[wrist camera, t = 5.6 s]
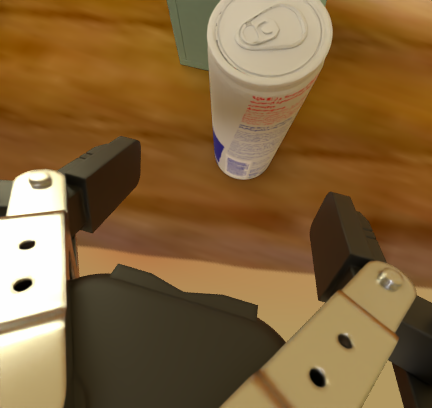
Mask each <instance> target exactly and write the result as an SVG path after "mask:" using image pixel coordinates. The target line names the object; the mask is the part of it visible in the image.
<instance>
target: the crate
mask: <svg viewBox="0 0 432 408" xmlns="http://www.w3.org/2000/svg"><path fill="white" fill-rule="evenodd" d="M220 1H221V0H167V4H168V8H169V13H170V18H171V22H172V27H173V31H174V36H175V41H176V45H177V50H178V54H179V58H180V64H182V65H187V66H191V67H195V68H199V69H203V70H208V71H209V65H208V42H207V28H208V22H209V19H210V16H211V14H212V12H213V10H214V9H215V7H216V6H217V4H218V3H219V2H220ZM320 1H321V2H322V4H323V5H324V7H325V5H326V1H327V0H320Z"/></svg>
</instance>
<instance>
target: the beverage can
mask: <svg viewBox="0 0 432 408" xmlns="http://www.w3.org/2000/svg"><path fill="white" fill-rule="evenodd" d="M332 34H333V29H332V23H331V19H330V16H329V13H328V11H327V9H326V8H325V7H324V5H323V4H322V2H321V1H320V0H221V1H220V2H219V3H218V4H217V6H216V7H215V9H214V10H213V12H212V14H211V16H210V19H209V22H208V28H207V42H208V65H209V79H210V93H211V108H212V122H213V136H214V151H215V158H216V162H217V164H218V166H219V167H220V169H221V170H222V171H223V172H224V173H226V174H227V175H229V176H230V177H233V178H236V179H251V178H254V177H257V176H259V175H260V174H262V173H263V172H264V171H265V170H266V169H267V167H268V166H269V164H270V162H271V160H272V158H273V156H274V155H275V153H276V151H277V149H278V147H279V146H280V144H281V142H282V140H283V138H284V137H285V135H286V133H287V131H288V129H289V128H290V126H291V124H292V122H293V120H294V118H295V117H296V115H297V113H298V111H299V109H300V108H301V106H302V104H303V102H304V100H305V99H306V97H307V95H308V93H309V91H310V89H311V88H312V86H313V84H314V82H315V80H316V79H317V77H318V75H319V73H320V71H321V69H322V67H323V64H324V60H325V57H326V56H327V54H328V51H329V49H330V46H331V42H332Z"/></svg>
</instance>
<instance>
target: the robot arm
mask: <svg viewBox="0 0 432 408" xmlns="http://www.w3.org/2000/svg"><path fill="white" fill-rule="evenodd" d="M140 160H141V145H140V142H139V141H138V140H135V139H131V138H127V137H123V136H119V137H118V138H116V139H115V140H113V141H112V142H110V143H109V144H104V145H101V146H97V147H94V148H93V149H91V150H89V151H88V152H86V154H83V155H81V156H80V157H79V158H77V159H75V160H74V161H72V162H70V163H69V164H67V165H66V166H64V167H62V168H61V169H59V170H58V171H55V170H48V169H40V170H33V171H28V172H26V173H23V174H21V175H19V176H18V177H16V178H15V180H14V181H8V180H0V408H362V406H363V404H364V402H365V400H366V399H367V397H368V395H369V393H370V391H371V389H372V387H373V386H374V384H375V382H376V380H377V379H378V377H379V375H380V373H381V371H382V370H383V368H384V366H385V364H386V362H387V361H388V360H389V361H391V362H392V365H393V369H394V372H395V376H396V380H397V383H398V387H399V391H400V394H401V398H402V402H403V405H404V408H432V303H431V302H429V301H427V300H425V299H423V298H421V297H419V296H417V293H416V288H415V286H414V284H413V283H412V281H411V280H410V279H409V278H408V277H407V276H406V275H405V274H404V273H403V272H401V271H400V270H399V269H397V268H395V267H394V266H392V265H390V264H387V262H386V260H385V257H384V255H383V253H382V251H381V248H380V246H379V244H378V242H377V240H376V237H375V235H374V233H373V232H372V231H373V230H372V228H371V226H370V224H369V221H368V220H367V219H366V218H365V217H364V216H363V215H362V214H361V213H360V212H358V211H356V210H355V208H354V205H353V203H352V200H351V198H350V197H349V196H345V195H341V194H338V193H334V192H329V193H328V194H327V195H326V197H325V199H324V201H323V203H322V205H321V207H320V209H319V211H318V213H317V214H316V216H315V218H314V220H313V222H312V225H311V229H310V241H311V248H312V256H313V264H314V271H315V279H316V287H317V294H318V300H319V301H322V302H325V304H324V305H323V306H322V307H321V308H320V309H319V310H318V311H317V312H316V313H315V314H314V315H313V316H312V317H311V318H310V319H309V320H308V321H307V322H306V323H305V324H304V325H303V326H302V327H301V328H300V329H299V330H298V331H297V332H296V333H295V334H294V335H293V336H292V337H291V338H290V339H289V341H287V342H285V341H284V340H283V338H282V337H281V336H280V335H279V334H278V333H277V332H276V331H275V330H274V329H273V328H271V327H270V326H269V325H268V324H266V323H265V322H264V321H262V320H260V319H259V318H257V309H258V305H255V304H252V303H248V302H245V301H242V300H238V299H235V298H232V297H228V296H225V295H217V294H203V293H188V292H183V291H181V290H179V289H177V288H176V287H174V286H172V285H170V284H169V283H167V282H165V281H164V280H162V279H160V278H158V277H157V276H155V275H153V274H152V273H148V272H145V271H142V270H138V269H135V268H132V267H128V266H125V265H121V264H118V265H117V266H116V267H115V269H114V270H113V272H112V273H111V274H94V275H87V276H83V277H79V267H78V252H77V239H76V233H77V232H78V231H79V230H83V231H86V232H90V233H93V232H94V231H95V230H96V229H97V228H98V227H99V226H100V225H101V224H102V223H103V222H104V220H105V219H106V218H107V217H108V216H109V215H110V214H111V213H112V212H113V211H114V210H115V209H116V208H117V206H118V205H119V204H120V203H121V202H122V201H123V200H124V199H125V198H126V197H127V196H128V195H129V194H130V192H131V191H132V190H133V189H134V188H135V187H136V186H137V184H138V182H139V178H140Z"/></svg>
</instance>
